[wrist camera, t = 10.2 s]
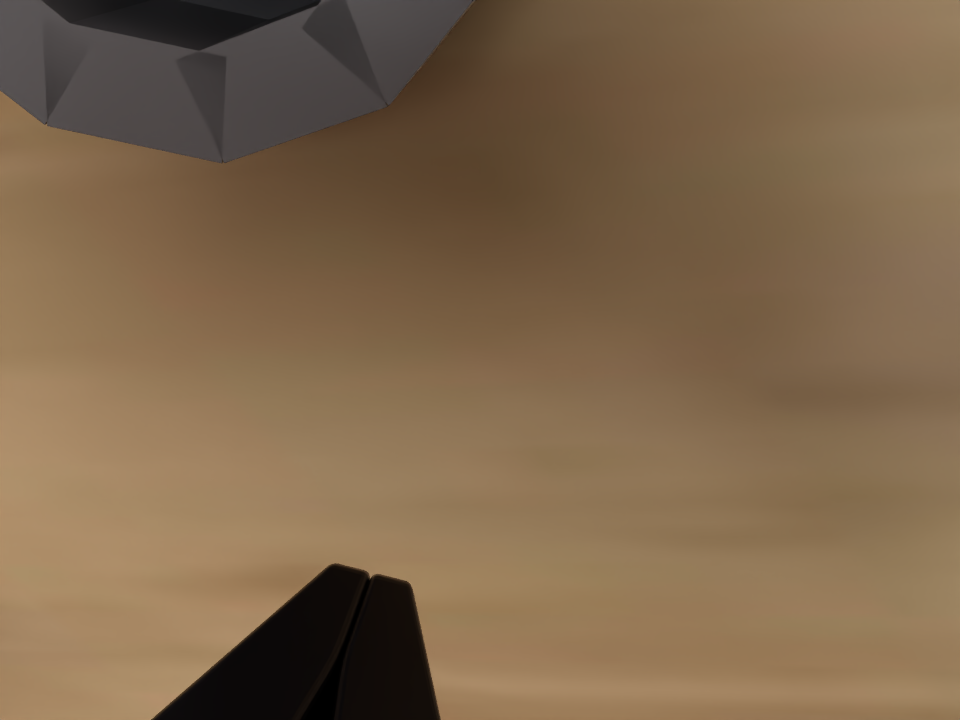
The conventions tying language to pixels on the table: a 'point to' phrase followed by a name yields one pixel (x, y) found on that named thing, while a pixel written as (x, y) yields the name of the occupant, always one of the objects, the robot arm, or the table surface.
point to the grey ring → (213, 66)
